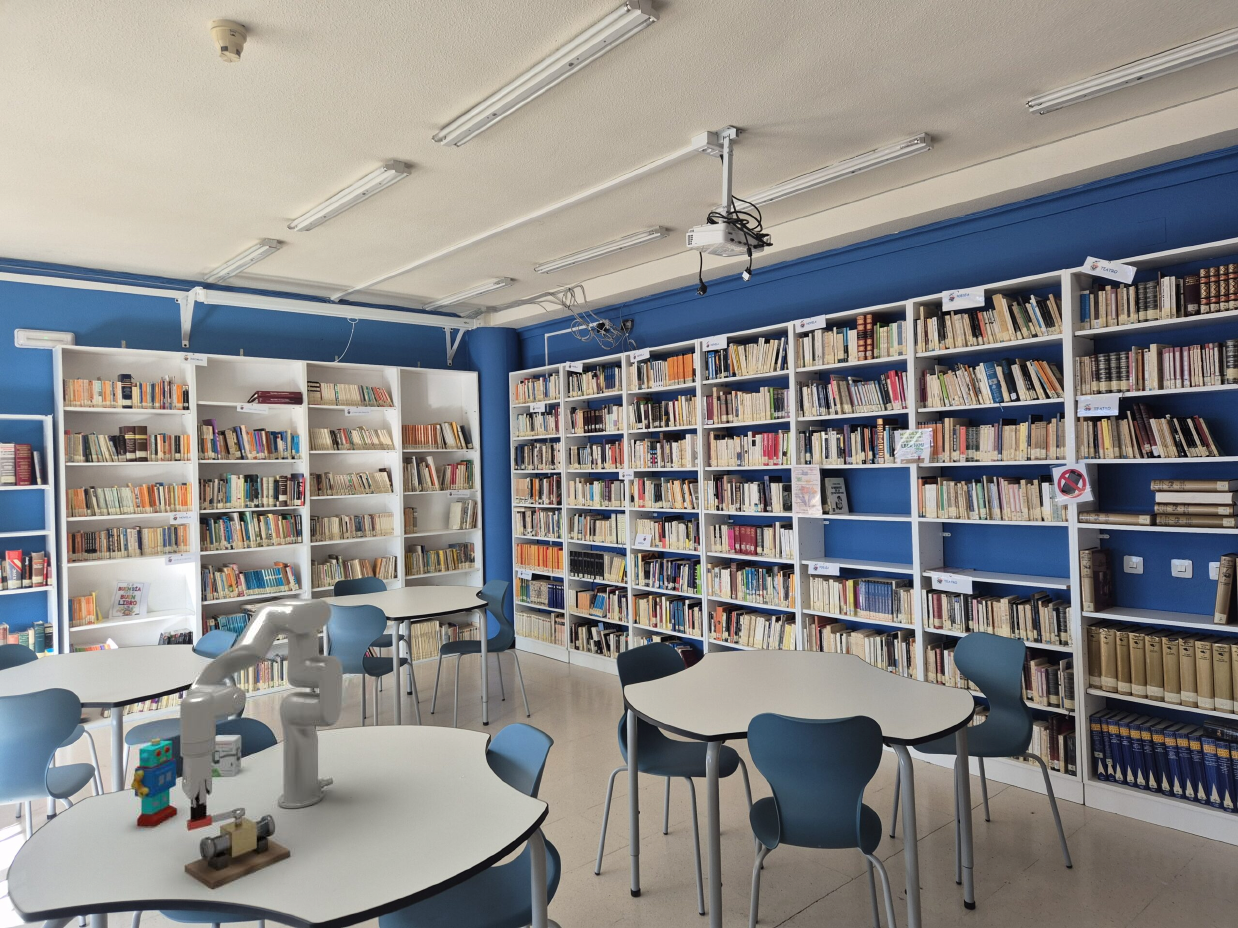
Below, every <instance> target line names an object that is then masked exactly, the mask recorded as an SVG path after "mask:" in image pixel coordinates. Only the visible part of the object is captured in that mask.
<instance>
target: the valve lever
mask: <svg viewBox="0 0 1238 928" xmlns="http://www.w3.org/2000/svg"><path fill="white" fill-rule="evenodd" d="M245 815H246V808H244V807H237V808H235V809H233V810H230V811H225V812H222V813H221V812H220V813H218V814H213V815H211V814H207V815H205V816H201V817H197V818H193V819H190V818H189V819H187V820H186V829H187V831H188V832H190V831H194V830H198V829H200V828H206V827H209V826H212V825H213V824H214V823H218V822H223V821H226V820H230V819H235V818H239V817H242V818H243V817H245Z"/></svg>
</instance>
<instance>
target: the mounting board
mask: <svg viewBox="0 0 1238 928" xmlns="http://www.w3.org/2000/svg"><path fill="white" fill-rule="evenodd" d="M289 857H291V850H290V849H288V848H286V846H283V845H281V844H279V843H276V842H275V841H273V840H271V839H270V838H268V851H266V852H263V853H261V854H257V853H255V852H254V851H252V850H250V851H248V852H245V853H243V854H240V855H238V856H235V857H233V858H232V857H230V856H228V867H226V868H224V869H221V870H219V871H217V870H215V869H213V868H212V867H210V866H208V861H204V860H203V858H202V857H201V858H200V859H199V858H198V859H196V860H195V861H192V862H190V863H187V864H185V865H184V872H185V873H186V874H188V875H189V876H190V877H192V878H193V879H195V880H197V881H198V882H200V883H201V884H204V886H206V887H208V888H210V889H211V890H214V889H216V888H219V887H221V886H224V885H226V884H228V883H231V882H232V881H233V882H234V881H235V880H237V879H241V878H242V877H244V876H245V877H246V876H248V875H249V874H251V873H254V872H257V871H259V870H261V869H264V868H266V867H268V866H270V865H273V864H275V863H278V862H280V861H283V860H285V859H287V858H289Z"/></svg>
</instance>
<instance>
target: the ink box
mask: <svg viewBox="0 0 1238 928" xmlns="http://www.w3.org/2000/svg"><path fill="white" fill-rule="evenodd" d="M211 761H212V778H219V777H222V776H224V777H235V776H236V774H237V773H238V774H239V773H240V772H241V771H242V735H240V734H231V735H229V734H221V735H219V734H218V735H216V750H215V751H214V752H212V753H211ZM238 774H237V775H238Z"/></svg>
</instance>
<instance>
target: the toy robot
mask: <svg viewBox="0 0 1238 928" xmlns="http://www.w3.org/2000/svg"><path fill="white" fill-rule="evenodd" d="M156 731H158V737H156V738H154V737H153V735H154V732H156ZM160 734H161V733H160V730H159V729H154V731H153V732H152V734H151V738H152V739H151V743H150V744H147V745H145V746H142V747H141V748H139V749H138V751H139V757H138V758H139V765H138V766H136V767H135V768H134V774H133V780H132V783H131V784H130V785H131V786H130V787H131V789H132V790H133V791H134V797H135V798H136V797H137V798H138V797H139V799H141V801H140V802H141V803H140V804H141V805H140V806H141V807H140V808H141V810H140V812H141V813H140V815H139V816H138V817H137V819H136V826H138V827H147V826H150V828H155V827H157V826H159V825H160V823H161V824H163V823H164V822H165V820H166V821H168V820H170V819H171V818H173V817H175V816H177V815H176V814H178V808H177V807H175V806H174V805H171V804H170V802H171V800H170V798H171V797H170V792H171V791H170V789H172V788H175V787H176V786H177V779H178V775H177V758H175V757H173V756H172V754H173V741H172V740H161V738H159V737H160ZM174 815H175V816H174ZM169 818H170V819H169ZM167 819H168V820H167ZM163 821H164V822H163ZM154 826H155V827H154Z"/></svg>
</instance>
